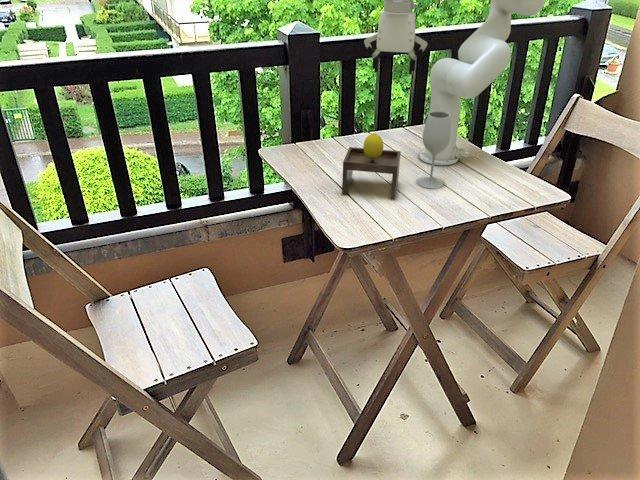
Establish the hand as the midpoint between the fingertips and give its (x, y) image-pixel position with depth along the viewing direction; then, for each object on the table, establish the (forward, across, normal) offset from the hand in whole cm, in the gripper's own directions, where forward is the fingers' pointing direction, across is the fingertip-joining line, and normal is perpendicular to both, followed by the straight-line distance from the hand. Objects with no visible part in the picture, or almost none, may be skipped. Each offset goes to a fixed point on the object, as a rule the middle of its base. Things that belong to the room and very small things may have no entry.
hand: (393, 72), depth 149 cm
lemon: (+22, +3, +14) cm, 26 cm away
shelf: (+30, +3, +14) cm, 33 cm away
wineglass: (+31, -14, +6) cm, 34 cm away
